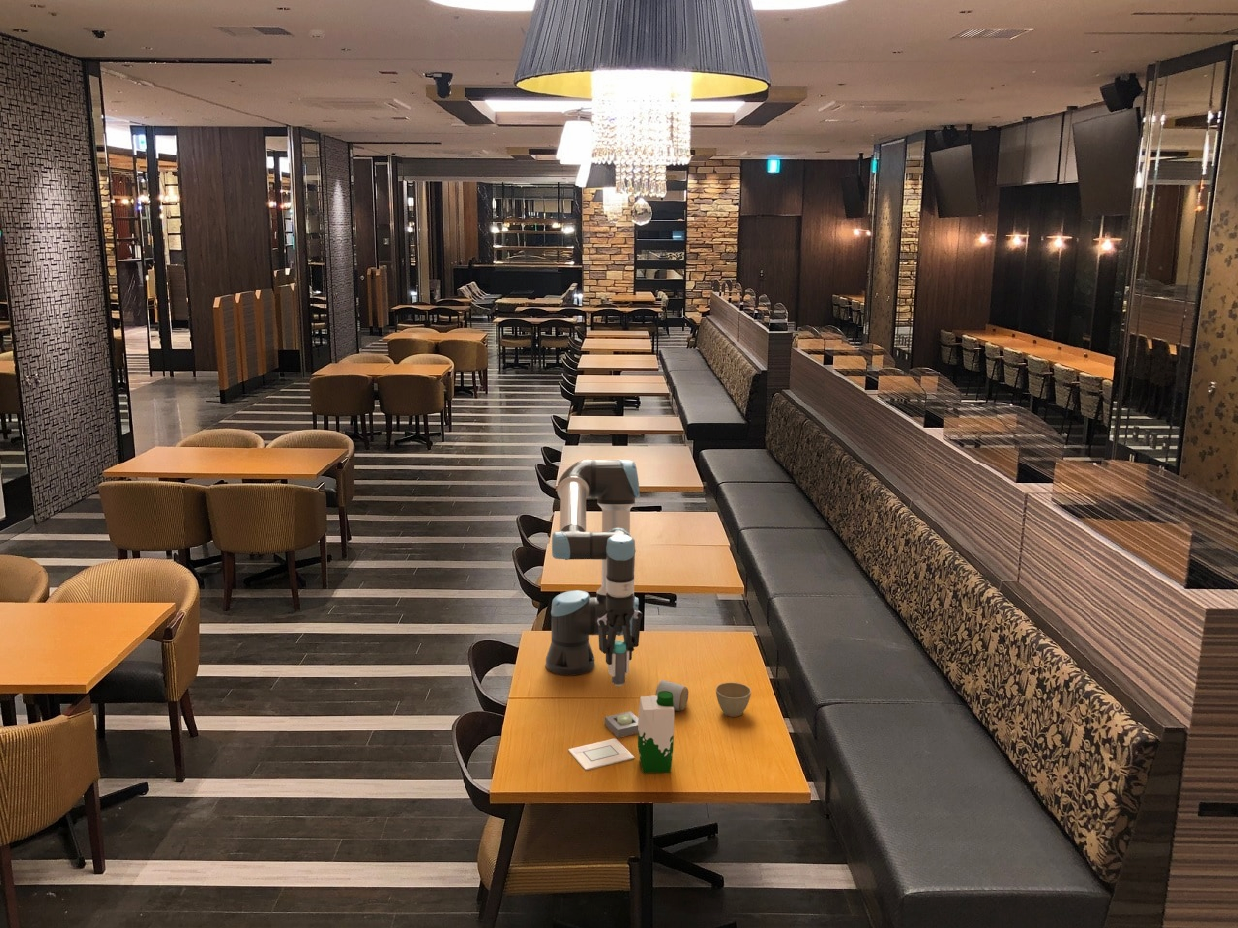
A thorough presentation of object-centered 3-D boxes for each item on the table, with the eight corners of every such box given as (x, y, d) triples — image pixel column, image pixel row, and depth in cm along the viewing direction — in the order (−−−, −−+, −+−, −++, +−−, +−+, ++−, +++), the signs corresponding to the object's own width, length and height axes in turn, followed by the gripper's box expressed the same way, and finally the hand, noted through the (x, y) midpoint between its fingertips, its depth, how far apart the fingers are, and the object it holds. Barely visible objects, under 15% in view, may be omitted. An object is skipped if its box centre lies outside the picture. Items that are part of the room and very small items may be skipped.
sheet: (568, 750, 275) (568, 748, 275) (615, 739, 282) (615, 737, 281) (585, 770, 266) (585, 768, 266) (634, 758, 272) (634, 756, 272)
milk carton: (674, 774, 265) (677, 702, 260) (639, 775, 264) (640, 703, 259) (670, 756, 273) (672, 686, 268) (635, 757, 272) (637, 687, 268)
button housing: (604, 724, 289) (605, 716, 289) (630, 718, 293) (630, 711, 292) (617, 737, 282) (618, 729, 282) (644, 731, 286) (644, 723, 285)
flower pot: (754, 709, 300) (755, 686, 298) (743, 724, 291) (744, 700, 289) (721, 701, 304) (722, 679, 302) (709, 716, 295) (710, 693, 293)
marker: (615, 688, 283) (616, 647, 280) (609, 682, 286) (609, 642, 283) (627, 685, 285) (628, 644, 282) (620, 679, 288) (621, 639, 285)
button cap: (614, 726, 288) (614, 716, 288) (627, 723, 290) (627, 713, 289) (621, 732, 285) (621, 722, 284) (634, 729, 287) (634, 719, 286)
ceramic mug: (681, 715, 295) (682, 690, 293) (653, 710, 298) (654, 685, 296) (692, 700, 305) (693, 676, 303) (665, 695, 308) (666, 671, 306)
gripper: (598, 602, 272) (597, 684, 278) (654, 592, 279) (651, 672, 285) (585, 592, 278) (585, 673, 284) (640, 583, 286) (638, 661, 292)
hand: (618, 672), depth 285 cm, fingers closed on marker, 3 cm apart
